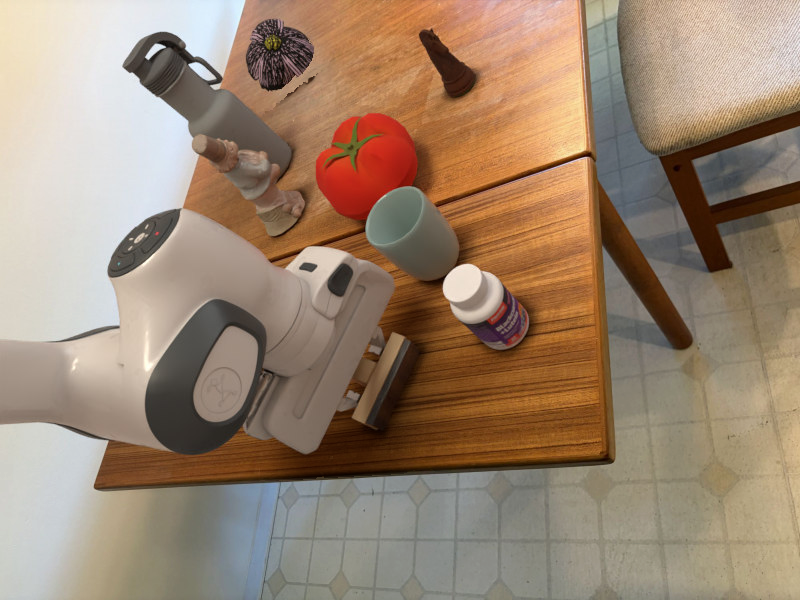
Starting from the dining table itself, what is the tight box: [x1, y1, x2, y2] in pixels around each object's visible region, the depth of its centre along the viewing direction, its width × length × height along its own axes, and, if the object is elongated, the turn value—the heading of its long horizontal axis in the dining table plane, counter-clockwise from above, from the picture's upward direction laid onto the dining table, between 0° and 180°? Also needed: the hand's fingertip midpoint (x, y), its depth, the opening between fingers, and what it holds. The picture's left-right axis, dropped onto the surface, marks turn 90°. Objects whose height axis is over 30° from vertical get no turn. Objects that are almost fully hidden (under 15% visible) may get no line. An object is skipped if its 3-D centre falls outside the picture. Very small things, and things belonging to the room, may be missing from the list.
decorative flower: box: [245, 18, 315, 92], centre depth 109 cm, size 15×12×15 cm
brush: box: [350, 331, 421, 432], centre depth 61 cm, size 10×5×7 cm
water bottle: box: [121, 31, 292, 181], centre depth 91 cm, size 10×10×28 cm
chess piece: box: [418, 27, 476, 98], centre depth 77 cm, size 5×5×10 cm
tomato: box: [315, 112, 419, 221], centre depth 76 cm, size 14×16×10 cm
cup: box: [365, 186, 460, 282], centre depth 63 cm, size 8×8×10 cm
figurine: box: [191, 134, 306, 237], centre depth 83 cm, size 9×8×20 cm
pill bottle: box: [442, 263, 530, 351], centre depth 54 cm, size 5×5×10 cm
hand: (373, 378), depth 62 cm, fingers open, 5 cm apart
